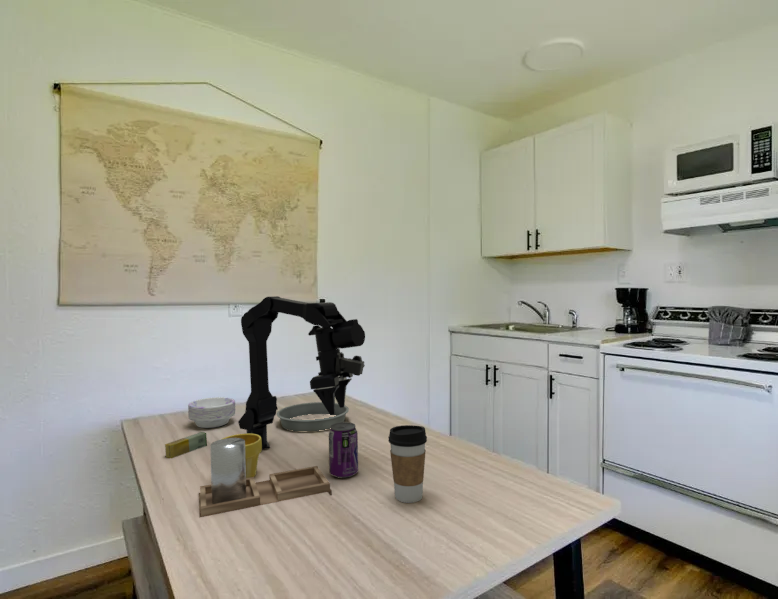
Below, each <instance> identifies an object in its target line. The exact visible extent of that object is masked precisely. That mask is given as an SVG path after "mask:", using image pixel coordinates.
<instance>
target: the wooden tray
mask: <svg viewBox="0 0 778 599" xmlns="http://www.w3.org/2000/svg"><path fill="white" fill-rule="evenodd" d="M268 476H269V479H268V480H261V481H257V482H256V480H255V476H254V477H251V478H246V498H243V499H238V500H233V501H227V502H222V503H217V504H213V503H212V487H211V484H206V485H201V486H199V488H200V489H199V492H198V506H199V508H198V512H199V516H198V517H199V518H205V517H209V516H214V515H219V514H223V513H229V512H235V511H239V510H243V509H249V508H254V507H259V506H263V505H269V504H274V503H279V502H283V501H284V502H285V501H289V500H293V499H297V498H298V499H299V498H303V497H309V496H313V495H318V494H323V493H324V494H325V493H327V494H328V495H329V496H332V495H333V491H332V488H331V483H330V482H329V480H328V479H327V477H326V476H325V475H324V474H323V472H322V471H321V469H320V467H318V465H313V466H309V467H303V468H297V469H291V470H285V471H280V472H273V473H269V475H268Z"/></svg>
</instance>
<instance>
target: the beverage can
mask: <svg viewBox="0 0 778 599" xmlns="http://www.w3.org/2000/svg"><path fill="white" fill-rule="evenodd" d="M330 428H331V429H329V431H328V459H329V460H328V462H329V463H328V464H329V466H328V467H329V468H328V469H329V470H328V472H329V474H330V475H331V476H334V477H336V478H338V477H339V479H345V478H350V477H353V476H354V475H356V474H357V473H358V472H359V445H358V443H359V441H358V440H359V436H358V431H357V428H356V424H355V422H350V421H349V422H348V421H344V422H339V423H335V424H332V425H331V426H330Z"/></svg>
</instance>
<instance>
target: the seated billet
mask: <svg viewBox="0 0 778 599" xmlns="http://www.w3.org/2000/svg"><path fill="white" fill-rule="evenodd" d="M209 448H210V479H211V480H210V481H211V483H210V485H211V487H212V503H213V504H217V503H222V502H227V501H233V500H238V499H243V498H246V460H245V440H244V439H241V438H226V439H222V438H221V439H217V440H215V441H213V442H212V443H211V444H210V446H209Z"/></svg>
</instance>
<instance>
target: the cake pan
mask: <svg viewBox="0 0 778 599" xmlns="http://www.w3.org/2000/svg"><path fill="white" fill-rule="evenodd" d="M349 410H350V409H349V407H348V406H346V405H344V407H342V408H340V406H339V404H338V402H335V414H334V415H336V416H334V417H329V418H324V419H315V420H302V419H295V418H297V416H299V417H302V415H304V416H309V415H308V414H313V415H326V414H329V412H328V411H327V409H326V408H325V406H324V405H323V403H322V402H321V401H317V402H315V401H314V402H312V401H311V402H303V403H298V404H292V405H291V404H290V405H289V406H285V407H282V408H281V409H279V410H277V411H276V417H278V418H279V421H280V423H281V427H282V428H284V430H287V429H288V431H290V430H293V431H292V432H295V431H317V432H320V431H319V430H324V431H326V430H325V429H329V430H330V426H331V425H332V424H335V423H339V422H345V420H346V415H347V414H348V413H349ZM293 417H295V418H293ZM290 418H291V419H290Z"/></svg>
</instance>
